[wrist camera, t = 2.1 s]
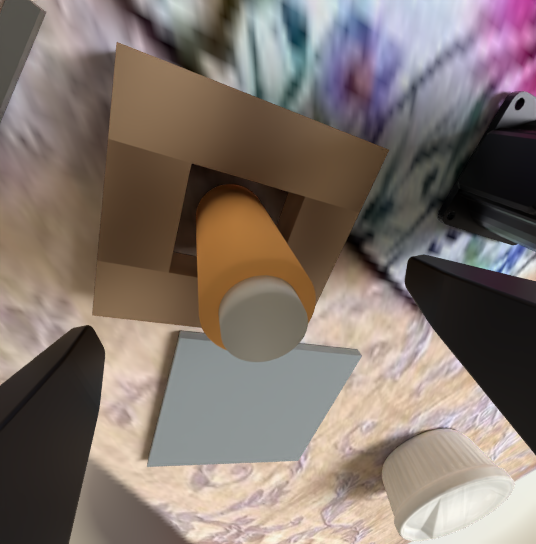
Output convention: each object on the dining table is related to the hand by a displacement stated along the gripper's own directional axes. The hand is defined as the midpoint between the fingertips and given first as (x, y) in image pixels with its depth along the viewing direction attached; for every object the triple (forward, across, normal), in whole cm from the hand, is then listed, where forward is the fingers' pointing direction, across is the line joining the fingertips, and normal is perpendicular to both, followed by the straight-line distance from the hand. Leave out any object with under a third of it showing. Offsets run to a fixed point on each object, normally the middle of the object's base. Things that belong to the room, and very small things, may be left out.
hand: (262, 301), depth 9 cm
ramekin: (+7, -15, +29) cm, 33 cm away
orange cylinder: (+7, 0, 0) cm, 7 cm away
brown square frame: (+7, 0, 0) cm, 7 cm away
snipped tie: (+7, +8, -6) cm, 12 cm away
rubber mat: (+7, +1, +14) cm, 16 cm away
